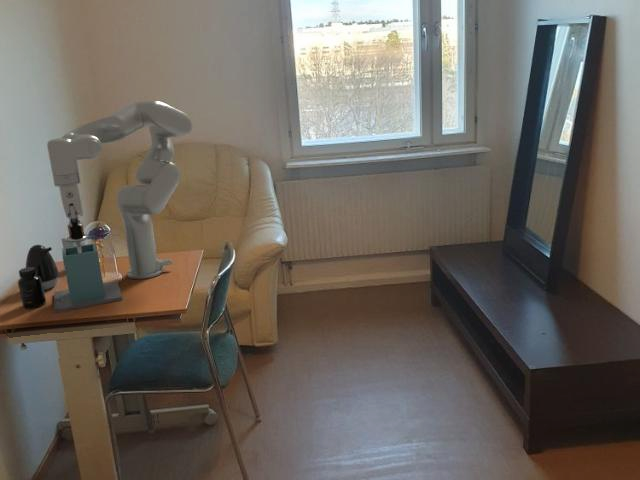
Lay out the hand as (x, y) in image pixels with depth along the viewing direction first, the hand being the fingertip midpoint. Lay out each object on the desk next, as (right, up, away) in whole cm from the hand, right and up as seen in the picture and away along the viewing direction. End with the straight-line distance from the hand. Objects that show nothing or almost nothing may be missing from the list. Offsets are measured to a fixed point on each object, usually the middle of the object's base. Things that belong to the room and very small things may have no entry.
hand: (76, 235), depth 202 cm
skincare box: (-13, -12, +36) cm, 40 cm away
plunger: (+1, -17, +5) cm, 18 cm away
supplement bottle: (-14, -22, +2) cm, 26 cm away
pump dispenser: (-17, -18, +18) cm, 31 cm away
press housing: (+1, -20, +6) cm, 21 cm away
